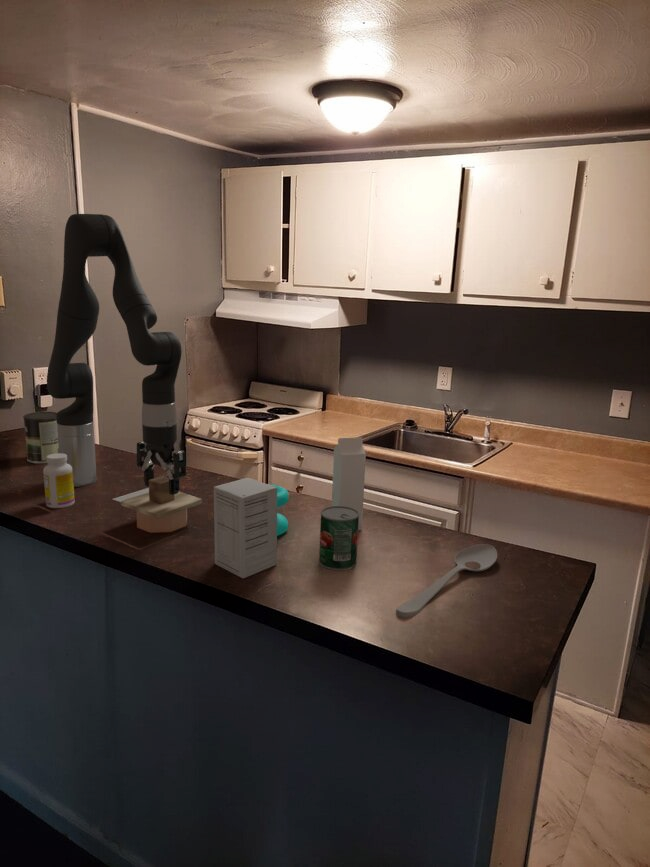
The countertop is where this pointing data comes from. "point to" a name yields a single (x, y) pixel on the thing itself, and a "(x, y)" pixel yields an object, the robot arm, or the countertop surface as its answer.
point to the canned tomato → (338, 537)
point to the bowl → (162, 522)
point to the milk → (349, 475)
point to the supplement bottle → (58, 482)
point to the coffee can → (40, 436)
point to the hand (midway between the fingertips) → (161, 489)
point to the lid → (160, 500)
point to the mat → (132, 495)
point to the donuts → (281, 500)
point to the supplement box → (245, 526)
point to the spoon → (450, 576)
